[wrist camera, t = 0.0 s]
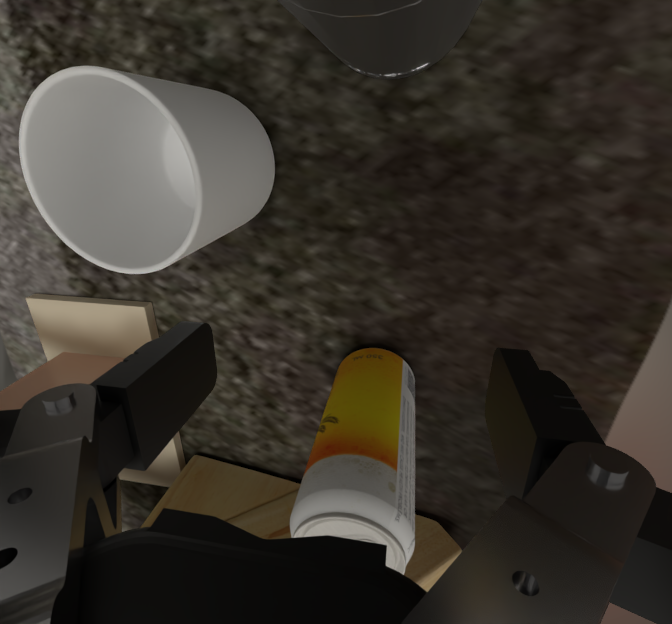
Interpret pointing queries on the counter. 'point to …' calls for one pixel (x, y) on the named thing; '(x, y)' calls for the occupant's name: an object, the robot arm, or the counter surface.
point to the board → (105, 352)
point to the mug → (141, 165)
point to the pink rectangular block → (56, 376)
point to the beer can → (364, 459)
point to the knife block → (282, 511)
